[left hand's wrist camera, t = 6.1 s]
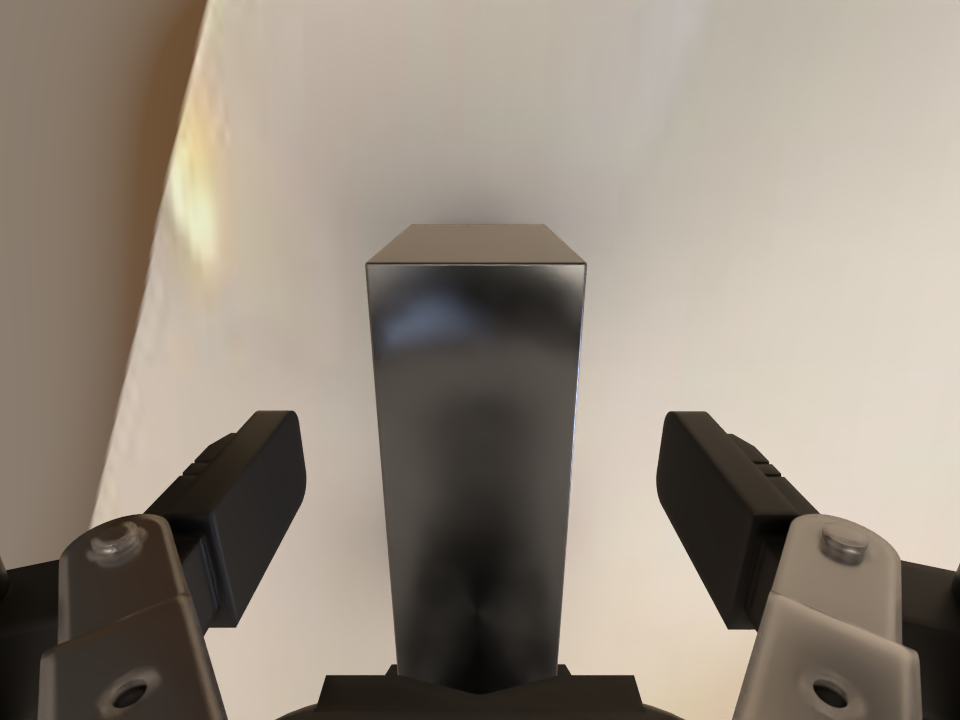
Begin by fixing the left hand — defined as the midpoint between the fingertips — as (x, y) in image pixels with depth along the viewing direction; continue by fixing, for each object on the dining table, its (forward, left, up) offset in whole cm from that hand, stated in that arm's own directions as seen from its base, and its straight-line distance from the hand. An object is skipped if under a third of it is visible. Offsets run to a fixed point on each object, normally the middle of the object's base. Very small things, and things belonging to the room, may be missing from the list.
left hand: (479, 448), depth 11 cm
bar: (+8, 0, -12) cm, 15 cm away
